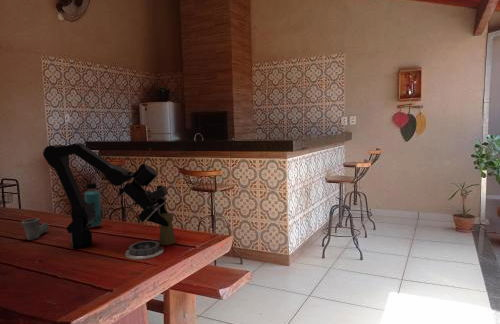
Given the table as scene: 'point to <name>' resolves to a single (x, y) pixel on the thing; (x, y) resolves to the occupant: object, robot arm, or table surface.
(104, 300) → the table surface
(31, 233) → the pipe
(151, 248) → the iron collar
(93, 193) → the beverage bottle
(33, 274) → the table surface
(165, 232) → the cork
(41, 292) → the table surface
